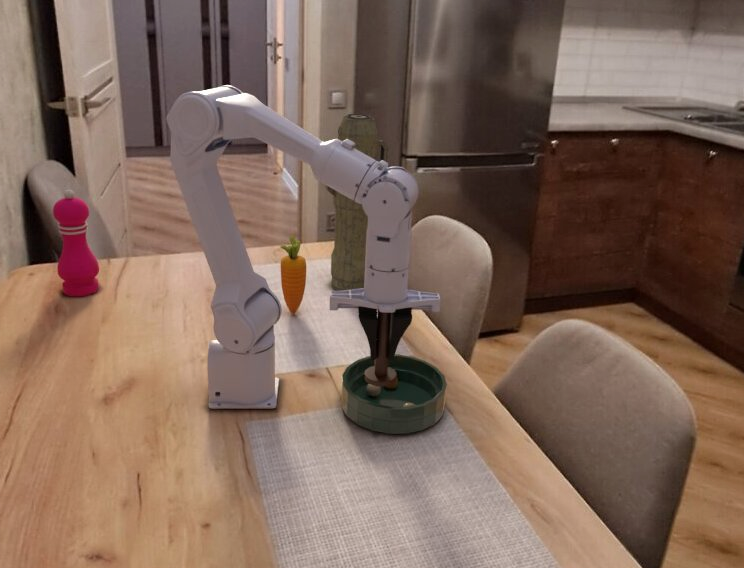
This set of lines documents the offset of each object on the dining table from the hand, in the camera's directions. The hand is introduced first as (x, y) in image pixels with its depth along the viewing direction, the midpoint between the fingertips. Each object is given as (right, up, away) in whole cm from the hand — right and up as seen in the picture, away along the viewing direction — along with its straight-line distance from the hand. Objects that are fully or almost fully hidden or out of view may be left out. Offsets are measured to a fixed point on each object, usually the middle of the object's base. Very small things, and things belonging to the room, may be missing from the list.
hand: (381, 356), depth 91 cm
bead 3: (+4, -8, +4) cm, 10 cm away
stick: (0, -3, +1) cm, 3 cm away
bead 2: (+1, -5, +11) cm, 12 cm away
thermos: (-8, +9, +49) cm, 50 cm away
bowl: (+1, -8, +8) cm, 11 cm away
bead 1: (-1, -6, +9) cm, 11 cm away
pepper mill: (-59, +8, +38) cm, 71 cm away
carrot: (-17, +4, +34) cm, 39 cm away
